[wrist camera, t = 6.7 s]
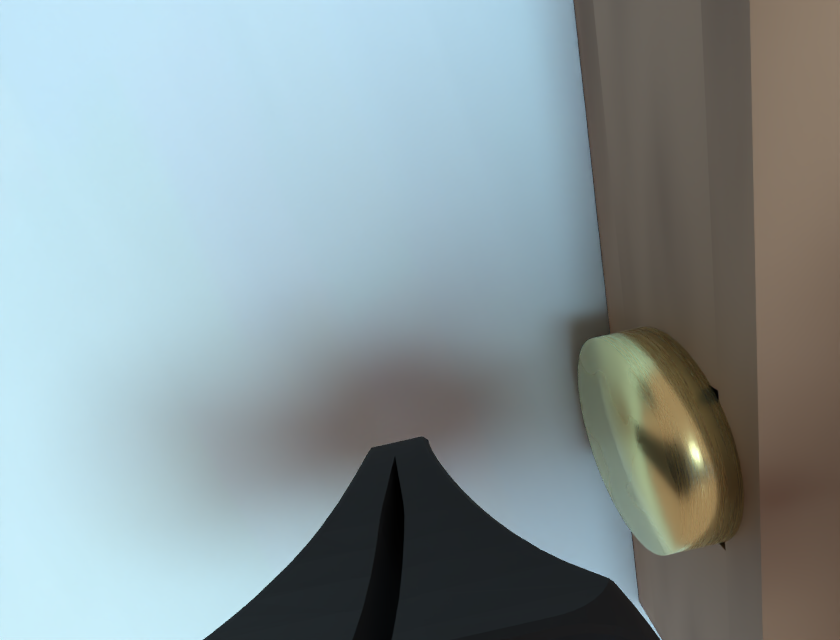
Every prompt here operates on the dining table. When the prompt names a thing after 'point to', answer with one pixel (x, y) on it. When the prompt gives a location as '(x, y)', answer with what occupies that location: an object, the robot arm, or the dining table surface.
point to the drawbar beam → (732, 277)
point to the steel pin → (660, 440)
